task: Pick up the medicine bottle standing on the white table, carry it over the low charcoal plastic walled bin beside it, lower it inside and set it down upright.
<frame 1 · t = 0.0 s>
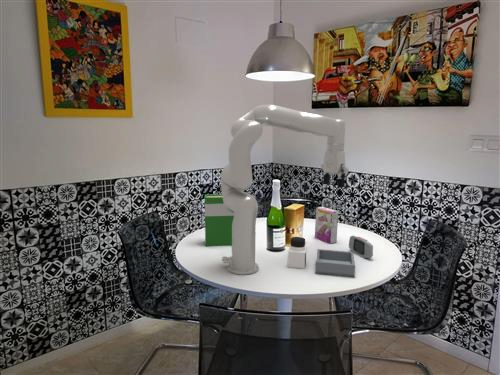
hand: (333, 185, 165), 31 cm above the table, tool pointing down, fingers open, 9 cm apart
candy bar box: (325, 240, 187), on the table
hardback book: (223, 243, 181), on the table
medicine bottle: (297, 265, 155), on the table
walled bin: (334, 268, 152), on the table
handheld gaming console: (360, 255, 167), on the table
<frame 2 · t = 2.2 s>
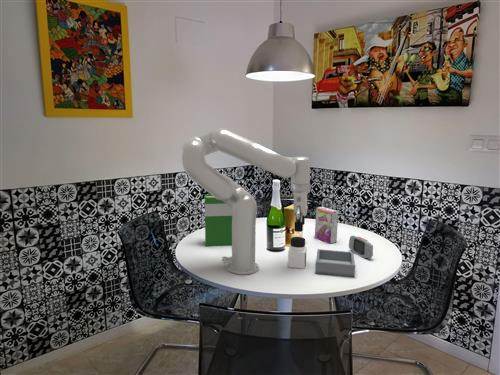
hand: (299, 227, 152), 16 cm above the table, tool pointing down, fingers open, 9 cm apart
nothing on the table moved.
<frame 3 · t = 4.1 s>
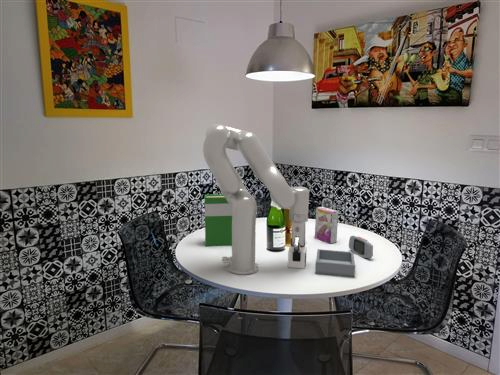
hand: (297, 257, 155), 3 cm above the table, tool pointing down, fingers closed on medicine bottle, 7 cm apart
medicine bottle: (297, 265, 155), on the table, touching gripper
everything else where it was.
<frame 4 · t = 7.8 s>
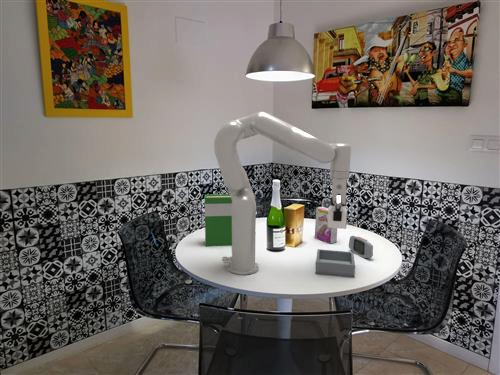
hand: (337, 218, 148), 22 cm above the table, tool pointing down, fingers closed on medicine bottle, 7 cm apart
medicine bottle: (336, 226, 149), point 18 cm above the table, touching gripper
everything else where it was.
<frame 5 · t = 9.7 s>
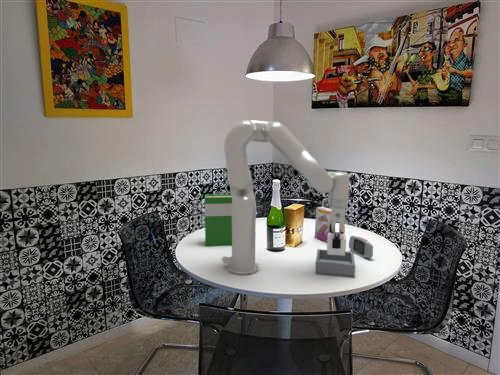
hand: (336, 244, 150), 10 cm above the table, tool pointing down, fingers closed on medicine bottle, 7 cm apart
medicine bottle: (335, 252, 151), point 7 cm above the table, touching gripper
everything else where it was.
when the fingers open (7 cm above the table, at t = 11.5 s): medicine bottle drops 2 cm, resting on walled bin.
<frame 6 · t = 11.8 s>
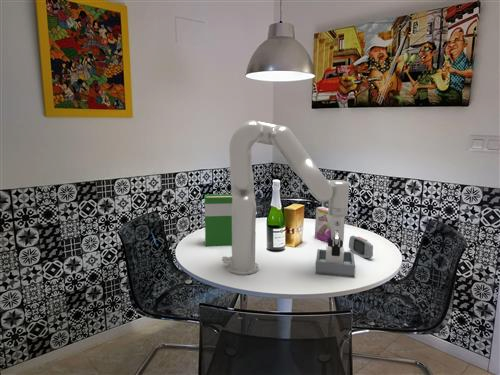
hand: (335, 251, 151), 7 cm above the table, tool pointing down, fingers open, 9 cm apart
medicine bottle: (334, 266, 152), point 1 cm above the table, touching walled bin
everything else where it was.
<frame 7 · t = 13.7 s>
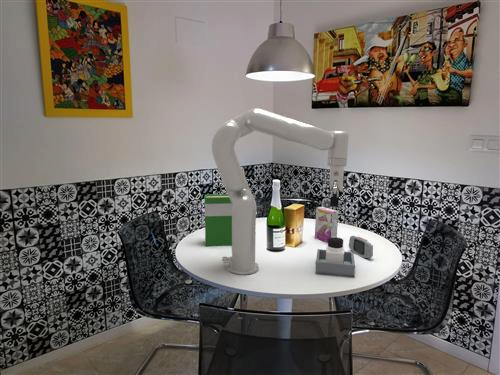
hand: (334, 204, 149), 27 cm above the table, tool pointing down, fingers open, 9 cm apart
nothing on the table moved.
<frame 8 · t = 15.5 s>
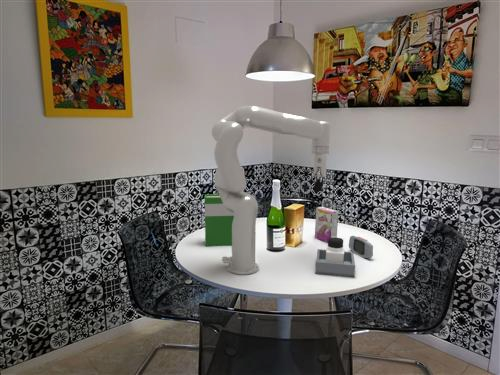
hand: (318, 189, 162), 30 cm above the table, tool pointing down, fingers open, 9 cm apart
nothing on the table moved.
at the end: medicine bottle inside the target area on the walled bin (0.2 cm from its centre), point 0.8 cm above the walled bin's base; medicine bottle tilted 0°; the gripper is holding nothing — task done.
